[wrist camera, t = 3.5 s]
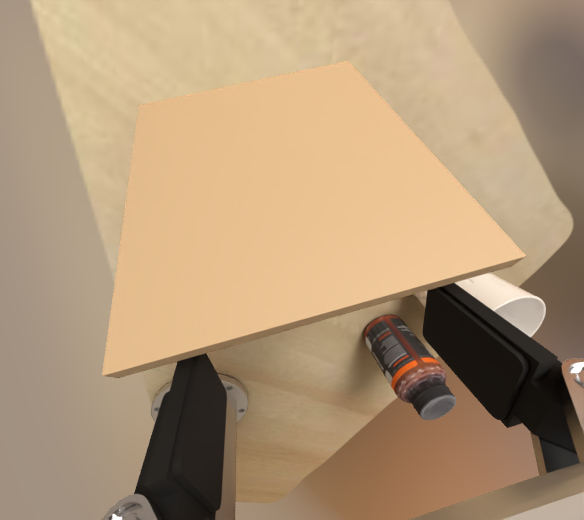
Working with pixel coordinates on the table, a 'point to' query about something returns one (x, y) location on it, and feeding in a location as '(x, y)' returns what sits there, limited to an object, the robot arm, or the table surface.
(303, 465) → the table surface
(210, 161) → the cardboard box lid
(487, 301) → the white cup
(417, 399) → the supplement bottle
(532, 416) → the robot arm
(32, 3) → the table surface
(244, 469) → the table surface
